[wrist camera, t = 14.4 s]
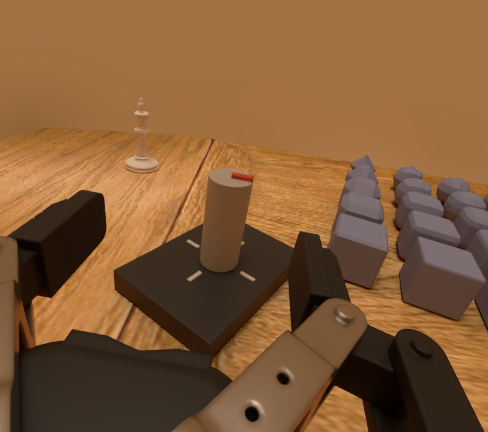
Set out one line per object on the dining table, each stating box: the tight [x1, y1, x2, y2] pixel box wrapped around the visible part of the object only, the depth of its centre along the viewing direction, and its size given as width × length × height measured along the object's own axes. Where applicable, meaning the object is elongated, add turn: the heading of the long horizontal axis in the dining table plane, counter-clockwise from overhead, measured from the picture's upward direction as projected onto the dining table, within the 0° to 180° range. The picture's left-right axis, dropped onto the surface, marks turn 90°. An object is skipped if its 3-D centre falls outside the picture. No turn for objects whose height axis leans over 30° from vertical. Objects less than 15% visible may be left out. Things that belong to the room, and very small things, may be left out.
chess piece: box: [125, 98, 159, 173], centre depth 44 cm, size 5×5×10 cm
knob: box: [200, 168, 254, 272], centre depth 25 cm, size 3×3×8 cm
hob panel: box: [114, 224, 294, 357], centre depth 27 cm, size 14×10×2 cm
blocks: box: [327, 155, 488, 328], centre depth 40 cm, size 35×34×5 cm
